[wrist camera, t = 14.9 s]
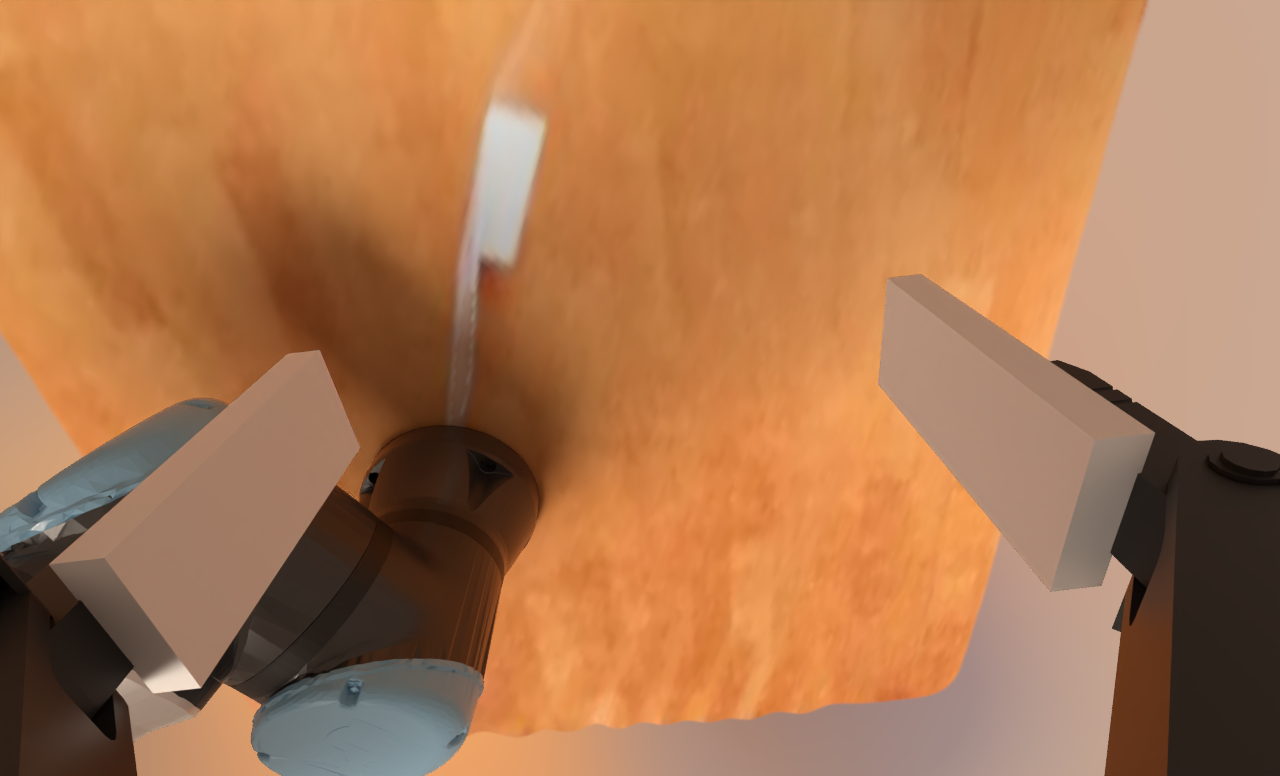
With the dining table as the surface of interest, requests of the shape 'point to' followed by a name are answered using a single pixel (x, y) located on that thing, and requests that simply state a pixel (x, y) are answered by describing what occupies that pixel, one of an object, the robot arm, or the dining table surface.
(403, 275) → the dining table surface
